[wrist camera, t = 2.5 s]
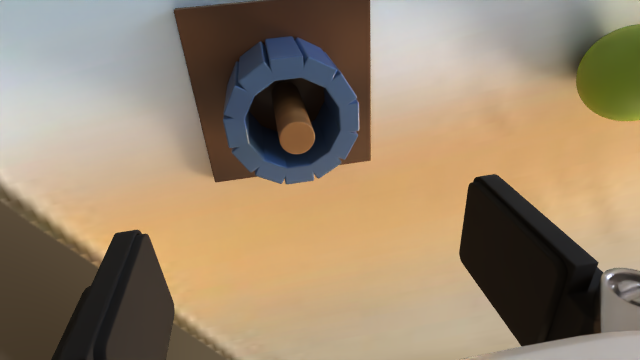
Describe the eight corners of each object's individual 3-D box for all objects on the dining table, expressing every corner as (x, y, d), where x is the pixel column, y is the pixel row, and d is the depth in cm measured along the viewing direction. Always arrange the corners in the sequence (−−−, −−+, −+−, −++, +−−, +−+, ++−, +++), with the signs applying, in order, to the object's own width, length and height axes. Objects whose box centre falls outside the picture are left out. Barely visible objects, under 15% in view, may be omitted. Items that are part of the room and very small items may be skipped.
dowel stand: (175, 8, 20) (147, 31, 14) (367, -10, 21) (411, 4, 15) (215, 177, 25) (206, 244, 19) (368, 156, 26) (402, 213, 20)
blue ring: (217, 43, 21) (210, 65, 17) (338, 30, 21) (358, 48, 17) (239, 153, 24) (237, 192, 20) (342, 139, 25) (360, 174, 21)
